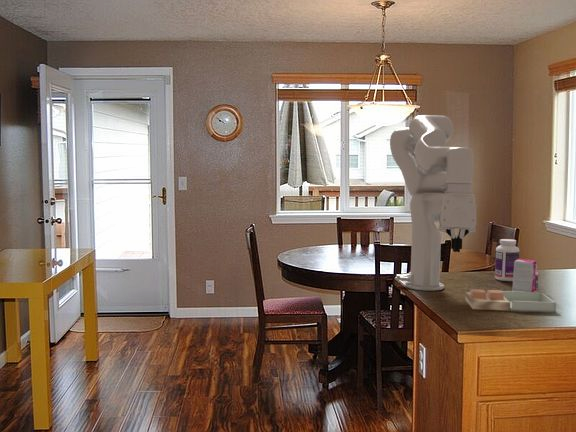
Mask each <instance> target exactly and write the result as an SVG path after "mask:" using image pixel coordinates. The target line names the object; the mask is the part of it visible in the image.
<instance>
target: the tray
mask: <svg viewBox="0 0 576 432" xmlns="http://www.w3.org/2000/svg"><path fill="white" fill-rule="evenodd" d="M501 291H502V292H503V293H504V297H505V298H506V299H507V300H508V301H509V302H510V311H511V312H515V313H517V312H518V313H546V314H556V310H557V302H556V301H554V299H551V298H550V297H549V296H548V295H546V294H545V293H543V292H540V291H538V292H518V291H512V290H510V291H509V290H501Z"/></svg>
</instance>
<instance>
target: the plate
mask: <svg viewBox="0 0 576 432" xmlns="http://www.w3.org/2000/svg"><path fill="white" fill-rule="evenodd" d="M465 301H466V303H467V304H468V305H469V307H470V308H471V309H472V310H484V311H486V310H488V311H509V312H510V311H511V310H510V302H509V301H508V300H507V299H506V298H505V297H504V299H489V298H488V296H487V292H486V298H472V297H471V296H470V291H465Z"/></svg>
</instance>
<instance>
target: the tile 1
mask: <svg viewBox="0 0 576 432" xmlns="http://www.w3.org/2000/svg"><path fill="white" fill-rule="evenodd" d="M469 292H470V296H471V297H472V298H486V293H487V291H486V290H484V289H475V288H473V289H472V288H470V289H469Z"/></svg>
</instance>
